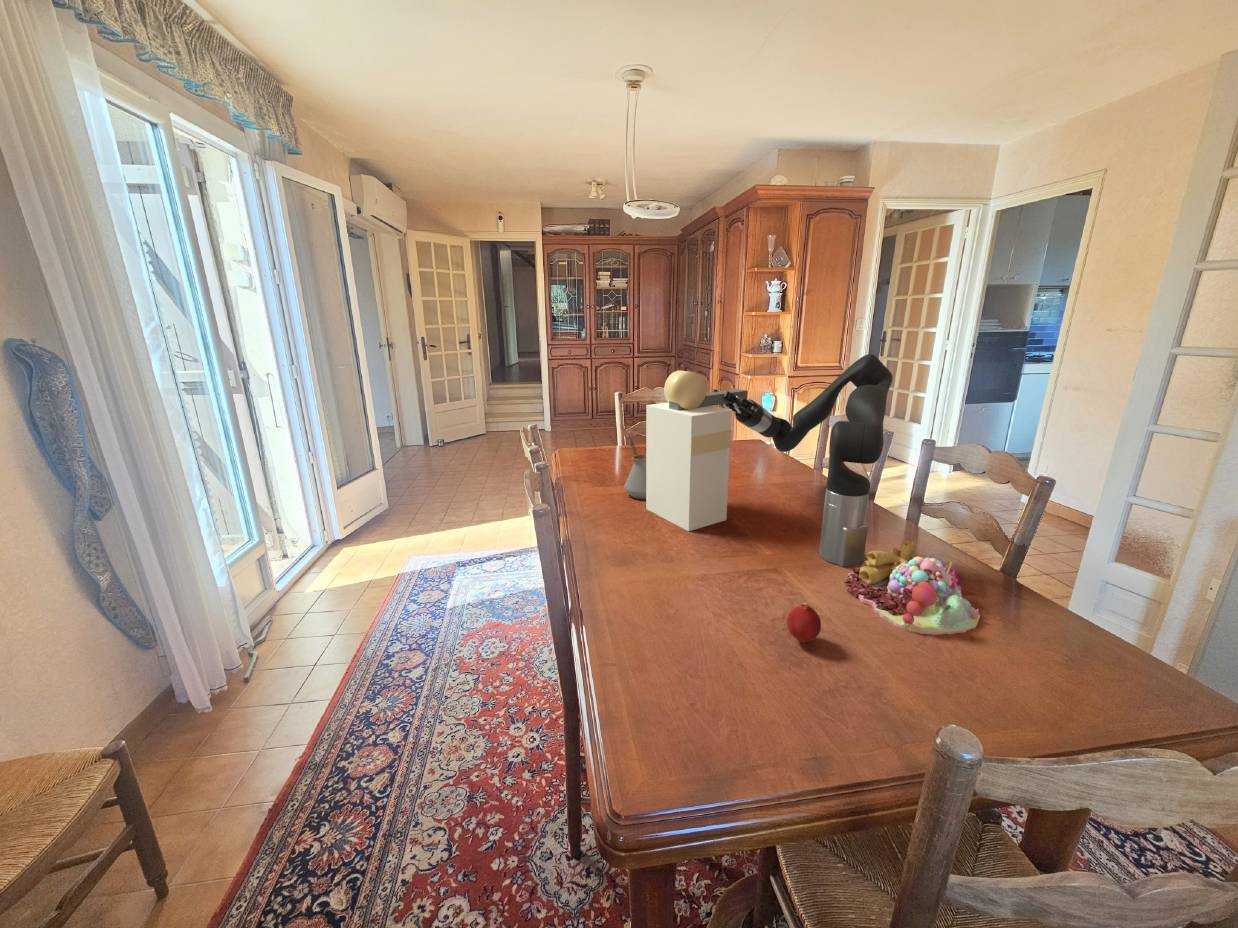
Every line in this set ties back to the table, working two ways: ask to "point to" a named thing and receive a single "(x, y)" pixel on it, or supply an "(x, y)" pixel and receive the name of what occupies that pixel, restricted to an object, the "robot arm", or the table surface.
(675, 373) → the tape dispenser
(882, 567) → the candy landscape model
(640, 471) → the coffee pot
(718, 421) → the tall box
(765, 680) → the table surface
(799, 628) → the onion
